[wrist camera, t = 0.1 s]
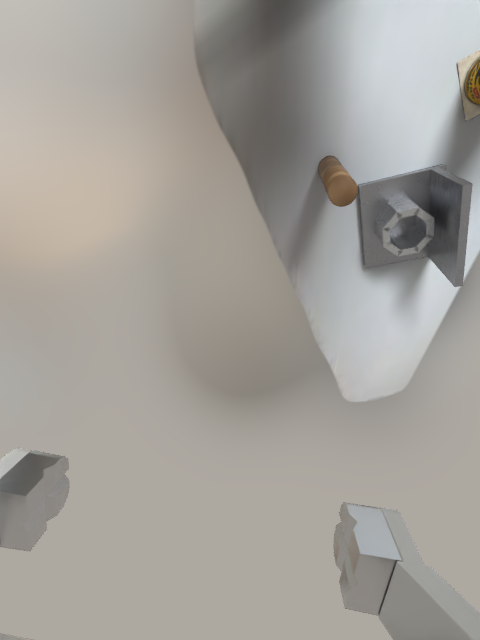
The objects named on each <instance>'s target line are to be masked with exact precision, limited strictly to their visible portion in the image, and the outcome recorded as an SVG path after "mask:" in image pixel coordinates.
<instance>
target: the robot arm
mask: <svg viewBox="0 0 480 640" xmlns="http://www.w3.org/2000/svg"><path fill="white" fill-rule="evenodd" d="M68 469H69V463H68V458H66V457H65V456H59V455H54V454H49V453H44V452H39V451H31V450H26V449H21V448H17V449H14V450H12V451H10V452H9V453H8V454H7V455H6V456H5V457H4V458H2V459H1V460H0V547H4V548H10V549H17V550H24V551H31V549H32V548H33V547H34V545H35V544H36V543H37V541H38V540H39V539H40V537H41V536H42V534H43V533H44V532H45V531H46V521H48V520H50V519H52V518H54V517H55V516H57V515H58V513H59V512H60V510H61V509H62V508H63V506H64V503H65V501H66V499H67V497H68V492H69V480H68V478H67V477H66V475H65V474H64V473H65V472H66V471H67V470H68ZM339 514H340V519H341V522H340V523H339V524H338V525H336V529H335V533H334V556H335V562H336V565H337V566H338V568H339V569H340V570H341V571H342V573H341V576H340V581H339V582H340V587H341V593H342V597H343V602H344V607H345V609H350V610H354V611H359V612H363V613H368V614H373V615H378V616H379V619H380V620H381V622H382V624H383V625H384V626H385V627H386V629H387V631H388V632H389V634H390V635H391V637H392V638H393V640H480V613H479V612H478V611H477V610H476V609H475V608H474V607H473V606H472V605H471V604H470V603H468V602H467V601H466V600H465V599H464V598H463V597H462V596H461V595H460V594H459V593H458V592H457V591H456V590H455V589H454V588H453V587H452V586H451V585H449V584H448V583H447V582H446V581H445V580H444V579H443V578H442V577H441V576H440V575H439V574H438V573H437V572H436V571H435V570H434V569H432V568H431V567H428V566H425V565H424V563H423V561H422V558H421V556H420V554H419V552H418V550H417V548H416V546H415V543H414V542H413V539H412V537H411V535H410V533H409V531H408V528H407V526H406V524H405V522H404V520H403V518H402V516H401V514H400V512H399V511H397V510H392V509H385V508H376V507H370V506H364V505H358V504H351V503H343V504H342V505H341V509H340V512H339ZM0 640H32V639H27V638H22V637H17V636H12V635H6V634H1V633H0Z"/></svg>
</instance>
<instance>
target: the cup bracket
mask: <svg viewBox="0 0 480 640" xmlns="http://www.w3.org/2000/svg"><path fill="white" fill-rule="evenodd" d="M358 187H359V200H360V212H361V225H362V238H363V251H364V264H365V267H366V268H369V267H374V266H379V265H385V264H390V263H396V262H401V261H407V260H412V259H417V258H423V257H429V258H430V259H431V260H432V261H433V263H434V264H435V265H436V266H437V267H438V268H439V269H440V271H441V272H442V273H443V274H444V275H445V276H446V278H447V279H448V280H449V281H450V282H451V283H452V284H453V286H454V287H458V286H463V276H464V266H465V255H466V245H467V234H468V224H469V213H470V202H471V192H472V183H470V182H468V181H466V180H464V179H462V178H459V177H457V176H455V175H453V174H451V173H449V172H447V171H446V165H444V164H442V165H437V166H433V167H429V168H425V169H421V170H417V171H413V172H409V173H405V174H400V175H396V176H392V177H388V178H384V179H380V180H376V181H372V182H368V183H363V184H359V185H358Z"/></svg>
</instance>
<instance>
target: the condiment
mask: <svg viewBox="0 0 480 640" xmlns="http://www.w3.org/2000/svg"><path fill="white" fill-rule="evenodd" d="M457 64H458V71H459V80H460V87H461V94H462V101H463V107H464V113H465V120H466V121H467V120H469V119H471V118H473V117H475V116H477V115H480V50H479V51H477V52H476V53H474V54H472V55H470V56H468V57H466V58H464V59H462V60H460V61H459V62H457Z"/></svg>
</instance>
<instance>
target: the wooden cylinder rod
mask: <svg viewBox="0 0 480 640" xmlns="http://www.w3.org/2000/svg"><path fill="white" fill-rule="evenodd" d="M318 171H319V174H320V177H321V179H322V181H323V184H324V186H325V189H326V191H327V194H328V196H329V199H330V201H331V202H332V203H333V204H334V205H336V206H340V207H342V206H347V205H349V204H350V203H352V202H353V201H354V199H355V198H356V196H357V192H358V188H357V185H356V183H355V181H354V180H353V179H352V177H351V176H350V175H349V174H348V172H347V171H346V170H345V168H344V167H343V166H342V165H341V163H340V162H339V161H338V159H337V158H335V157H333V156H327V157H325V158H323V159H322V160H321V161H320V163H319V166H318Z"/></svg>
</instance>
